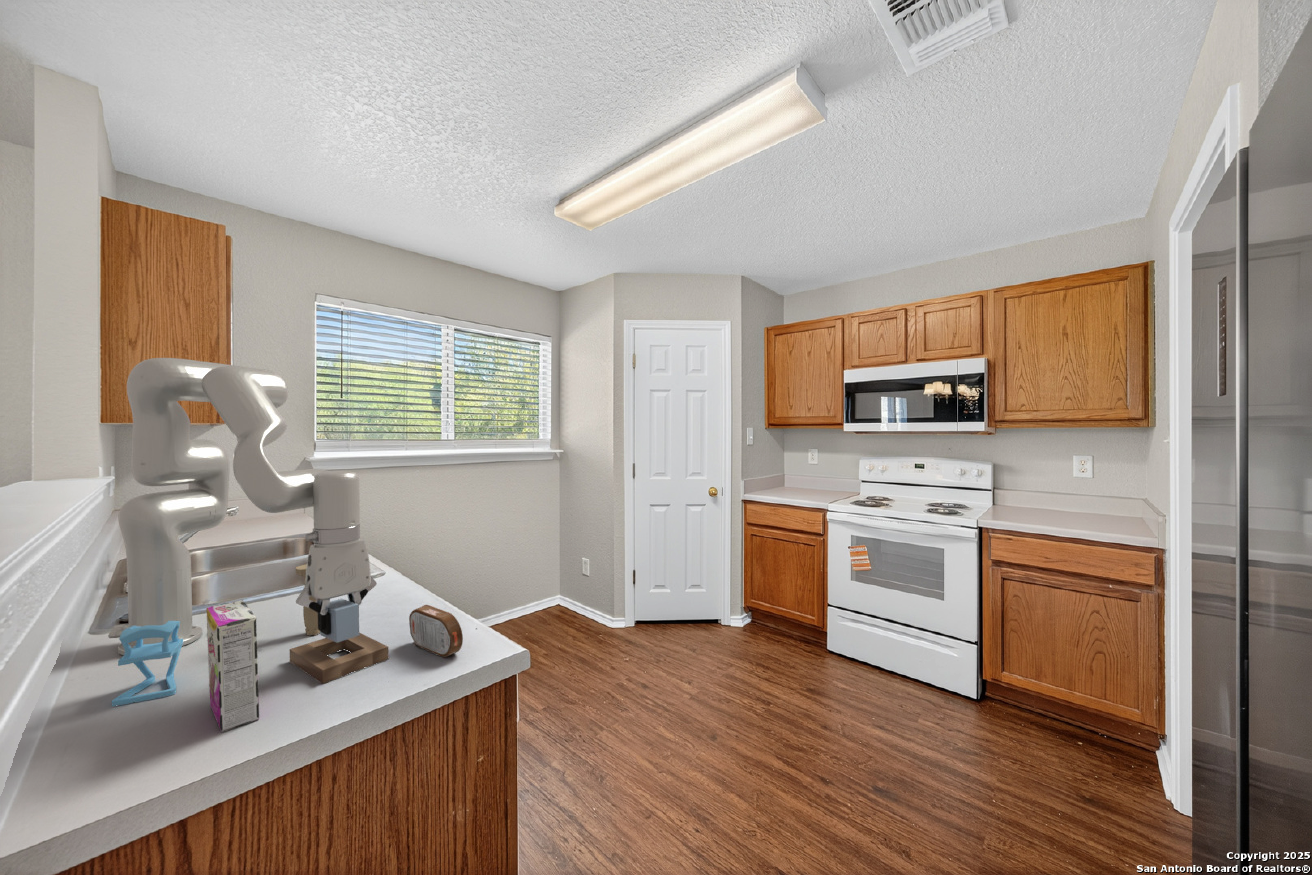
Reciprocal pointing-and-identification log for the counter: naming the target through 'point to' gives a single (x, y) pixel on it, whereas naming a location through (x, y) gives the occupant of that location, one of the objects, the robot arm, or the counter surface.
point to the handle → (308, 609)
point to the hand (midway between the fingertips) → (338, 627)
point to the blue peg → (343, 620)
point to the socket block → (327, 668)
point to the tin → (435, 630)
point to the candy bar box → (232, 664)
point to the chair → (149, 658)
